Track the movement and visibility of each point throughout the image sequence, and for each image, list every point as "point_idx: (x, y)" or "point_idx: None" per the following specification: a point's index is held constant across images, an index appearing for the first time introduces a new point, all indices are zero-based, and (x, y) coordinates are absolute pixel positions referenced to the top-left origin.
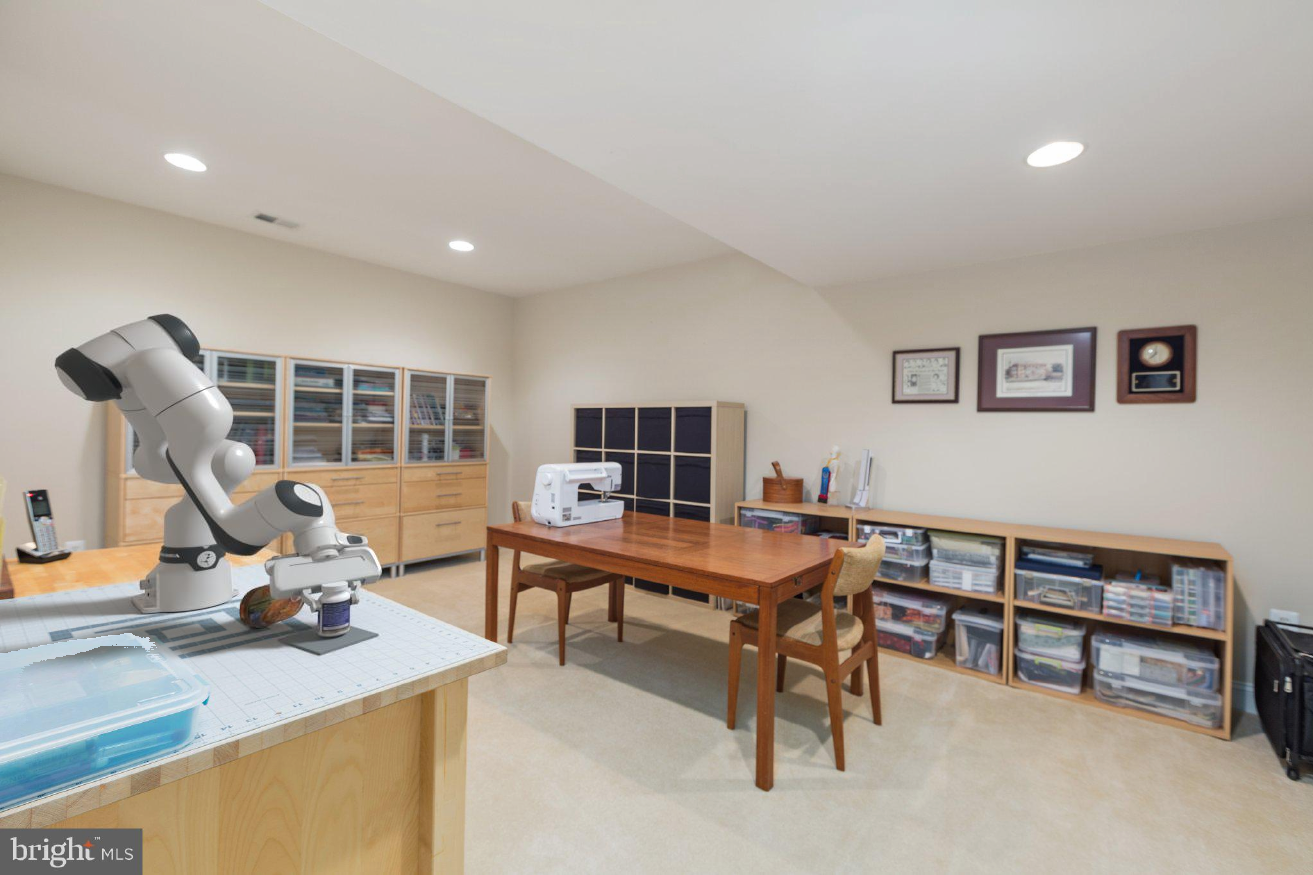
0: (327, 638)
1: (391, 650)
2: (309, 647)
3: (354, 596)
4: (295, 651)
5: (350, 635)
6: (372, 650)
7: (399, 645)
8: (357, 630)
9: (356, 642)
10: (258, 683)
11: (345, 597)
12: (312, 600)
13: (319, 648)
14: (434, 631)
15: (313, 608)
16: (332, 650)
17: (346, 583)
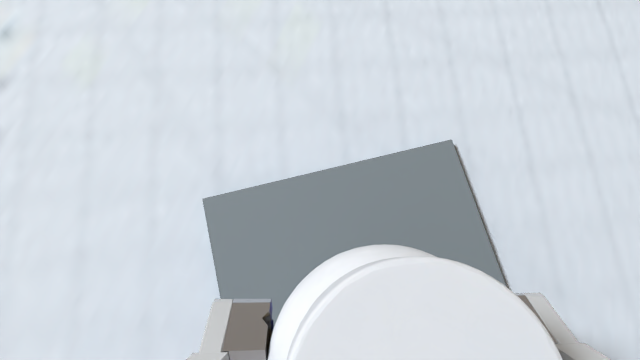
0: None
1: (244, 26)
2: (472, 231)
3: (241, 322)
4: (516, 250)
5: (299, 264)
6: (291, 67)
7: (200, 50)
8: None
9: (306, 175)
10: (637, 42)
11: (334, 262)
12: (575, 346)
13: (443, 191)
14: (19, 98)
15: (538, 295)
16: (405, 151)
17: (319, 308)
